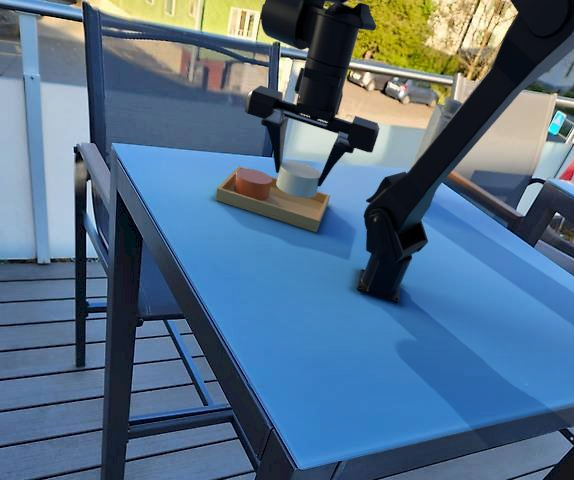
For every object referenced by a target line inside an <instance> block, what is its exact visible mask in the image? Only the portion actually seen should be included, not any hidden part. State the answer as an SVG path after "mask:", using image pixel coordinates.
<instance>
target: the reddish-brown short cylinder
mask: <svg viewBox="0 0 574 480" xmlns="http://www.w3.org/2000/svg"><path fill="white" fill-rule="evenodd" d="M270 176H271V175H269V174H267V173H266V172H263V171H260V170H258V169H253V168H246V169H239V170H238V171H237V173H236V179H235V185H234V191H235V192H236V193H238V194H241V195H244V196H247V197H250V198H253V199H257V200H266V199H268V197H269V193H270V189H271V184H272V178H271V177H272V176H271V177H270Z"/></svg>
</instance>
